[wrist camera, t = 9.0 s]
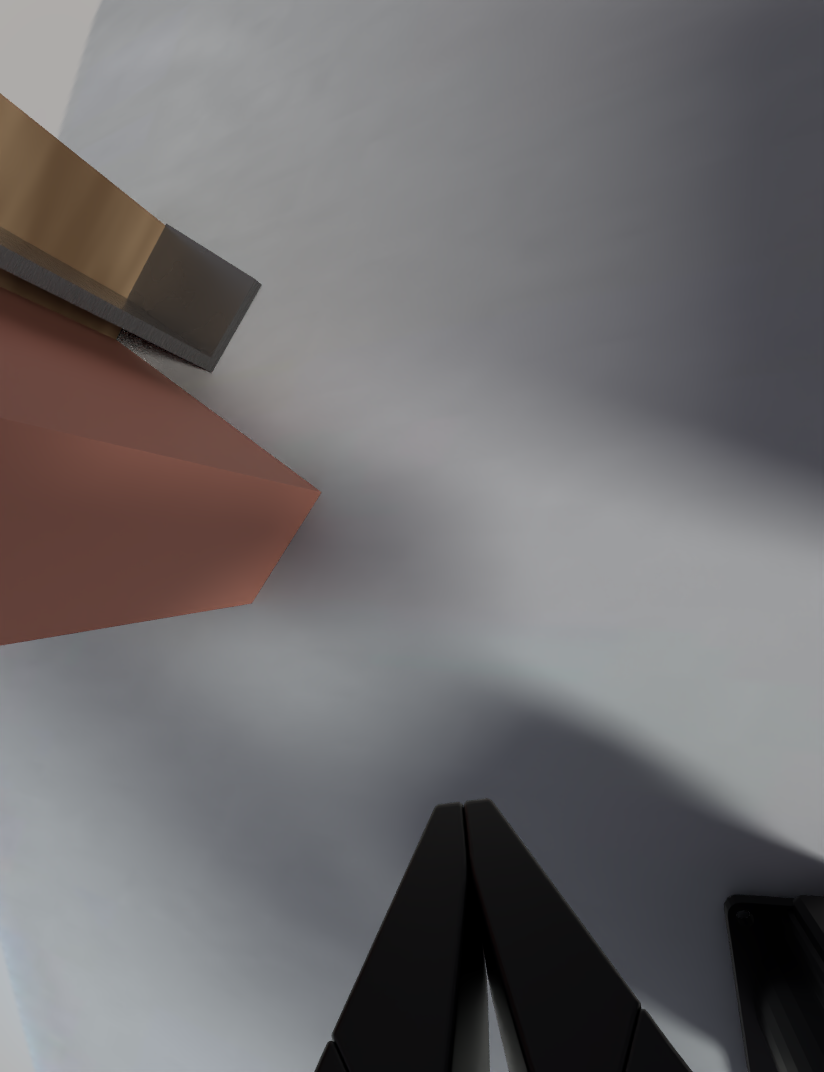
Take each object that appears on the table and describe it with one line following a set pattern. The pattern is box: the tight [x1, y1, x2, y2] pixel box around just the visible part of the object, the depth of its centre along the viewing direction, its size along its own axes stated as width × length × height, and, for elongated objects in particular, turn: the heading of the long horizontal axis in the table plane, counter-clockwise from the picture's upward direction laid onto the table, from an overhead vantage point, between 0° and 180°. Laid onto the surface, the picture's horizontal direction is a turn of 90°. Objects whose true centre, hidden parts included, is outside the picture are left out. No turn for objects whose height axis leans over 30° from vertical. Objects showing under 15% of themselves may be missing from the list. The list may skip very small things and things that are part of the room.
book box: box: [0, 287, 321, 645], centre depth 18 cm, size 14×6×14 cm, turn 55°
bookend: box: [0, 224, 261, 372], centre depth 18 cm, size 6×5×14 cm
